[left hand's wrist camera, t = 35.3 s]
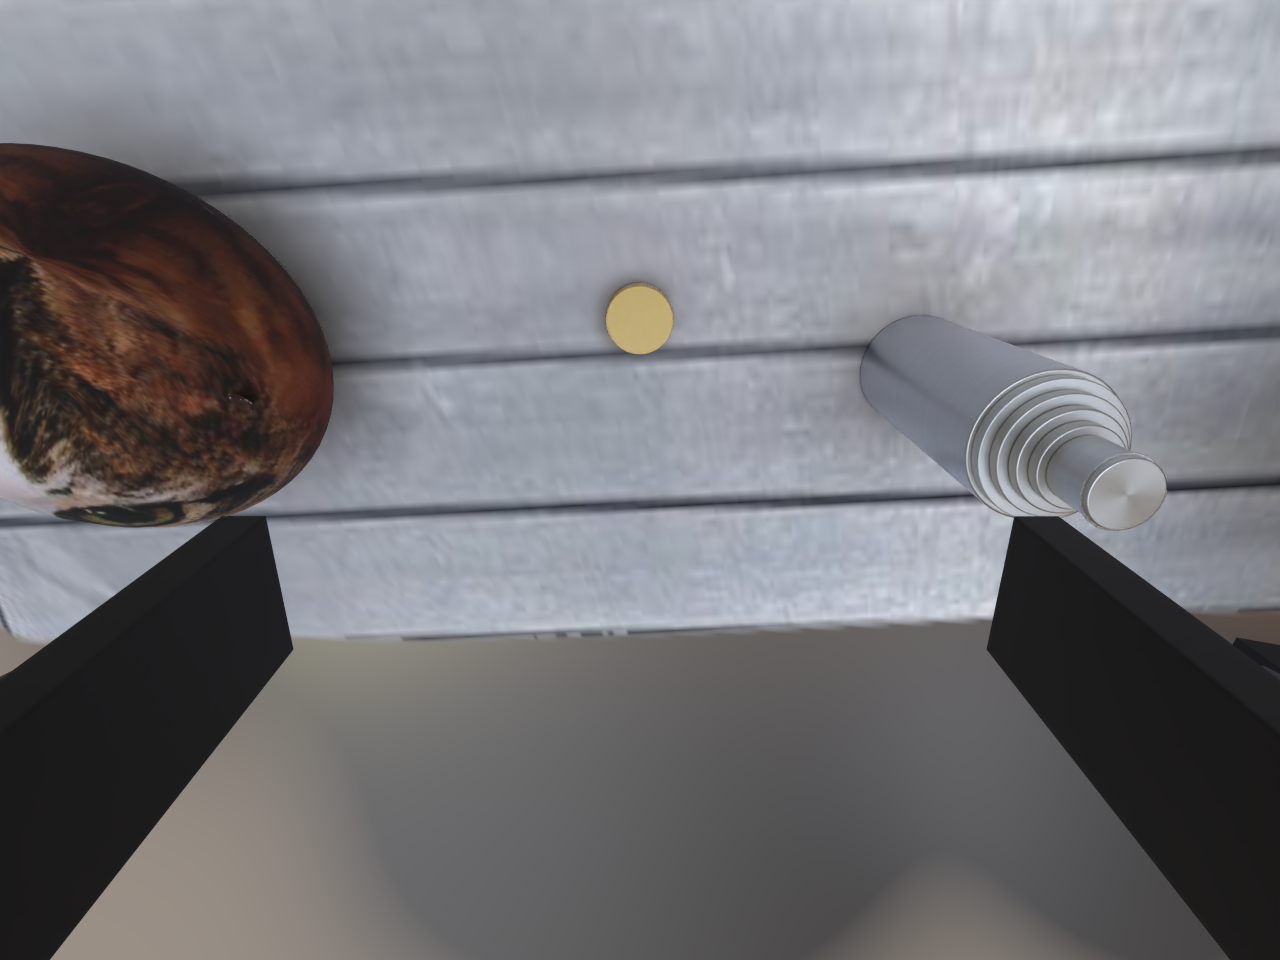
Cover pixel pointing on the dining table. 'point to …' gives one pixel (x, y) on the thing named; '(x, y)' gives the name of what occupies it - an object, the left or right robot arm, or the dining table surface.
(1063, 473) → the bottle
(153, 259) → the cat face ball
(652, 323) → the cap
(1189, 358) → the dining table surface
